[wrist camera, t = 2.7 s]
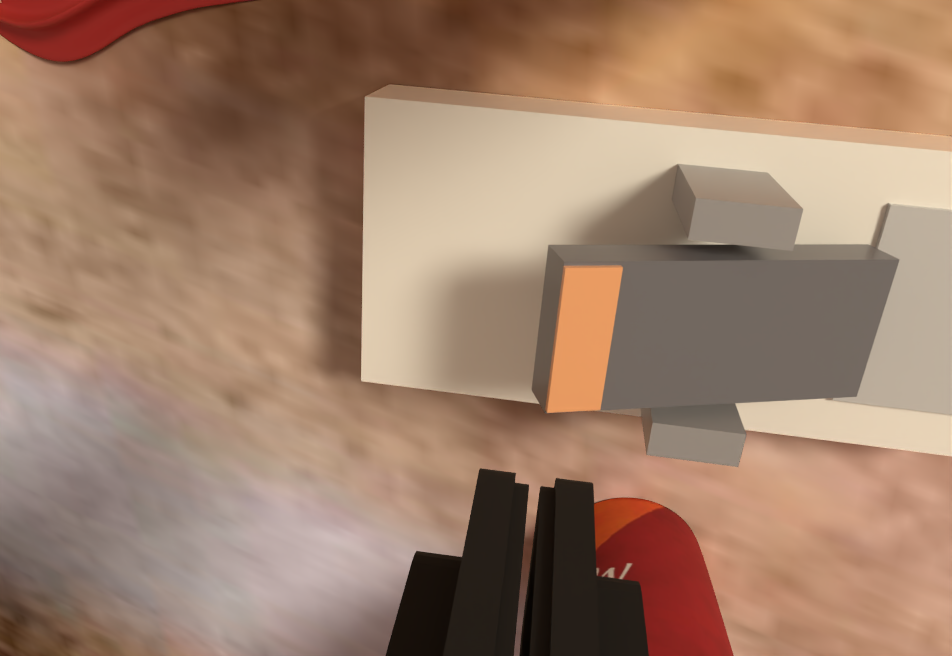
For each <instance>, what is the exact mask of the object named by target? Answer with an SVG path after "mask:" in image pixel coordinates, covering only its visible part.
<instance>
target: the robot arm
mask: <svg viewBox="0 0 952 656" xmlns="http://www.w3.org/2000/svg"><path fill="white" fill-rule="evenodd" d="M515 475H516V473H511V472H503V471H496V470H488V469H480V470H479V474H478V479H477V484H476V490H475V495H474V500H473V505H472V510H471V515H470V520H469V525H468V530H467V535H466V541H465V546H464V551H463V556H462V557H456V556H449V555H442V554H434V553H427V552H420V551H416V553H415V555H414V558H413V561H412V564H411V567H410V571H409V574H408V578H407V582H406V585H405V589H404V592H403V596H402V599H401V603H400V606H399V610H398V614H397V617H396V621H395V624H394V628H393V631H392V635H391V638H390V642H389V645H388V649H387V653H386V656H514V645H515V634H516V623H517V612H518V601H519V590H520V579H521V568H522V557H523V546H524V535H525V524H526V513H527V502H528V491H529V485H527V484H520V483H515ZM520 656H649V652H648V643H647V634H646V625H645V616H644V607H643V598H642V591H641V585H640V583H639V581H632V580H625V579H617V578H610V577H603V576H597V569H596V543H595V516H594V490H593V483H590V482H582V481H574V480H566V479H558V478H556V480H555V486H554V488H551V487H543V486H541V487H540V493H539V501H538V509H537V517H536V524H535V532H534V540H533V548H532V555H531V563H530V571H529V579H528V587H527V594H526V602H525V610H524V618H523V626H522V635H521V645H520Z"/></svg>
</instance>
